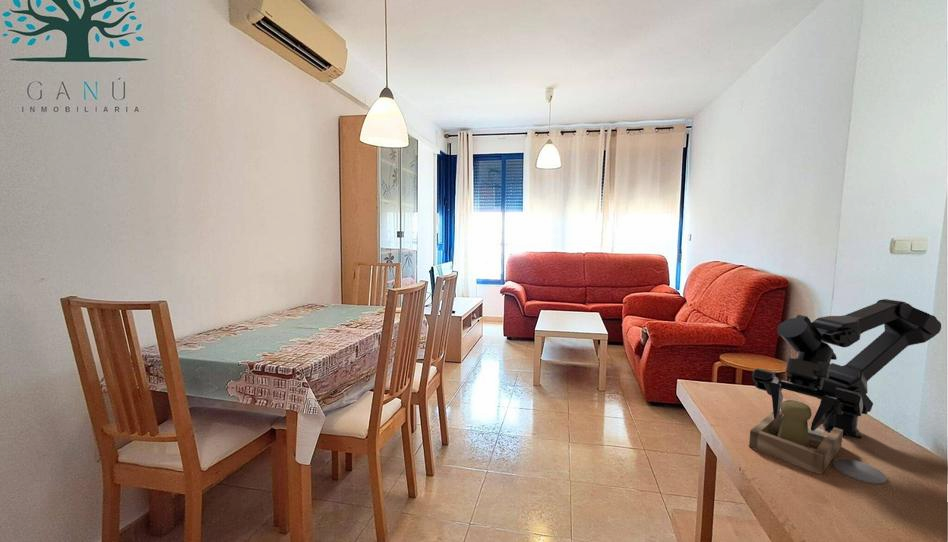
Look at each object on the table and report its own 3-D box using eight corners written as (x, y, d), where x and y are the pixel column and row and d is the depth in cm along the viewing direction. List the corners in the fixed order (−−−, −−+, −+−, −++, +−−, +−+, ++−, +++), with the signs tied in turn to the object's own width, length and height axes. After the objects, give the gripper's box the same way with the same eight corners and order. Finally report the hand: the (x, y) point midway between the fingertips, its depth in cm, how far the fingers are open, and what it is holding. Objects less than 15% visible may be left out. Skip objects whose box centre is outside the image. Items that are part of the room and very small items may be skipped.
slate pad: (829, 456, 83) (829, 454, 83) (879, 468, 79) (879, 466, 79) (837, 475, 77) (838, 472, 77) (892, 489, 73) (892, 486, 73)
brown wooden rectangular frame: (774, 424, 97) (775, 409, 97) (841, 446, 87) (843, 429, 87) (749, 447, 87) (750, 430, 87) (821, 474, 77) (823, 456, 77)
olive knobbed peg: (772, 449, 86) (776, 402, 85) (778, 439, 90) (782, 394, 89) (807, 461, 82) (812, 411, 80) (812, 450, 86) (816, 403, 84)
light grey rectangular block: (787, 431, 94) (788, 420, 94) (826, 443, 89) (827, 431, 89) (784, 438, 91) (785, 425, 91) (824, 450, 86) (825, 437, 86)
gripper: (757, 335, 93) (735, 391, 88) (866, 355, 78) (848, 423, 73) (766, 360, 99) (746, 414, 93) (869, 383, 84) (853, 449, 78)
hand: (792, 423), depth 84 cm, fingers open, 6 cm apart
